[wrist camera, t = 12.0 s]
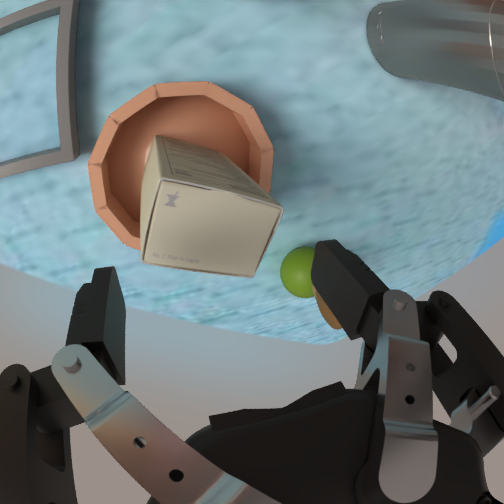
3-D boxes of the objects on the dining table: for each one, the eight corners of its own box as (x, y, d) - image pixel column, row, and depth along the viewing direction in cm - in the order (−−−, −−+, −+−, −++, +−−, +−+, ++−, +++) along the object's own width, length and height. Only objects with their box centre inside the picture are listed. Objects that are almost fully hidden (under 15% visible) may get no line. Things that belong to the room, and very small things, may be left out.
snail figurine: (309, 222, 31) (377, 292, 21) (319, 264, 35) (376, 334, 25) (264, 244, 30) (318, 325, 21) (279, 285, 34) (327, 363, 25)
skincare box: (140, 182, 22) (133, 265, 13) (155, 131, 20) (155, 174, 11) (210, 197, 25) (253, 283, 15) (227, 150, 23) (287, 208, 14)
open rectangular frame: (80, -2, 12) (74, -8, 11) (79, 154, 20) (74, 160, 18) (-40, 47, 8) (-51, 46, 7) (-31, 184, 16) (-41, 191, 14)
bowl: (262, 83, 21) (278, 84, 19) (253, 228, 29) (265, 246, 26) (92, 93, 17) (82, 94, 15) (111, 245, 25) (107, 266, 22)
